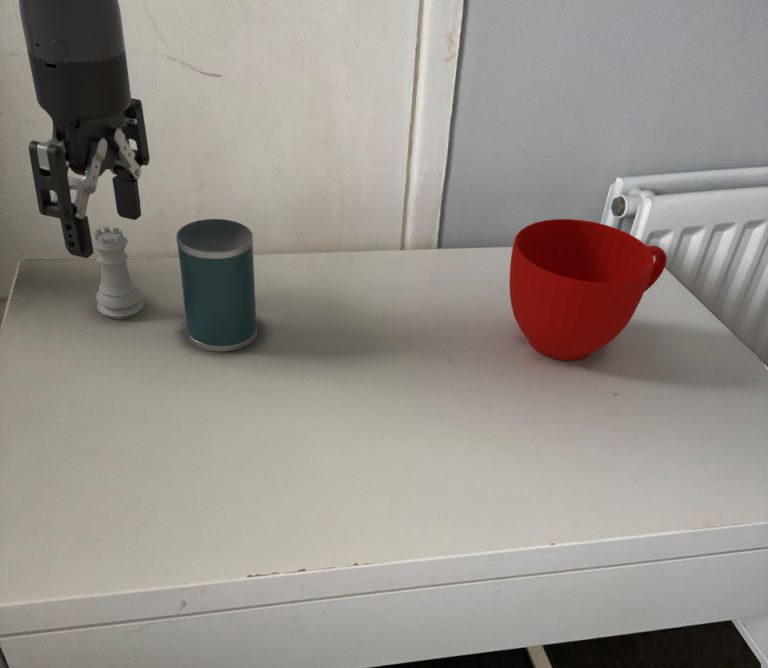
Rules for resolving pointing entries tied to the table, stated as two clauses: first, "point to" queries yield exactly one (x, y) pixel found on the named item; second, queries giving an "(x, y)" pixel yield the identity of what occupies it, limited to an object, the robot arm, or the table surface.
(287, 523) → the table surface
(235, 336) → the tin can
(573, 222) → the ceramic cup
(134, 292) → the rook chess piece
